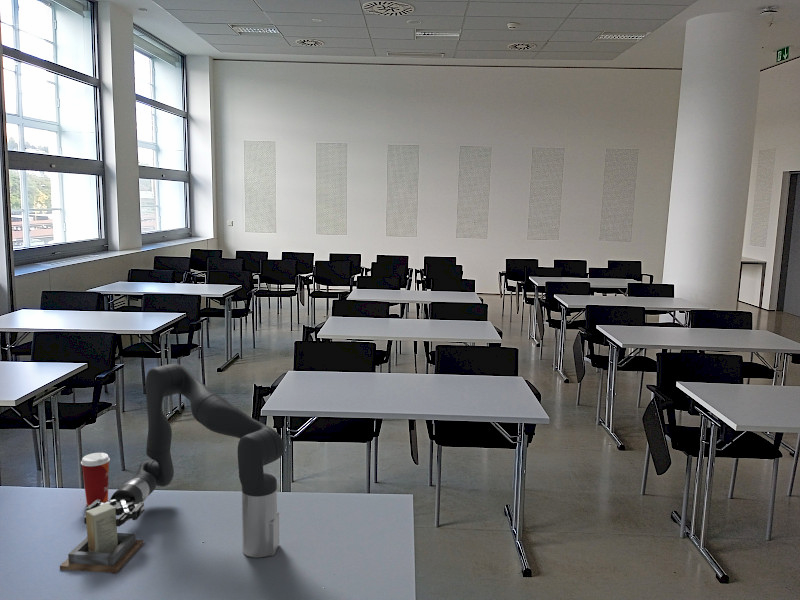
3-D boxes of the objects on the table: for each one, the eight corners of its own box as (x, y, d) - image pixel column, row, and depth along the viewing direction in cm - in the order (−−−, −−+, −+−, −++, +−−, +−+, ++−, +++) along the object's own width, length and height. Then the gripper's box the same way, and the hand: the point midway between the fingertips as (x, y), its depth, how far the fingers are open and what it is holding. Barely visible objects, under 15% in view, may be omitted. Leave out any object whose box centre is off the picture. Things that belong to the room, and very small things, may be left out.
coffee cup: (116, 502, 208) (114, 456, 206) (89, 511, 202) (87, 464, 200) (104, 494, 213) (102, 449, 211) (78, 502, 207) (75, 456, 205)
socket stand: (143, 543, 184) (143, 531, 183) (116, 573, 169) (116, 560, 168) (91, 540, 185) (90, 528, 184) (59, 569, 170) (59, 556, 169)
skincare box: (110, 544, 180) (108, 502, 179) (118, 550, 178) (116, 506, 176) (86, 554, 175) (84, 510, 174) (95, 559, 173) (93, 515, 171)
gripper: (106, 482, 191) (74, 507, 175) (154, 484, 190) (127, 510, 174) (107, 506, 192) (76, 534, 176) (155, 509, 191) (128, 537, 175)
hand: (101, 522), depth 175 cm, fingers open, 8 cm apart
